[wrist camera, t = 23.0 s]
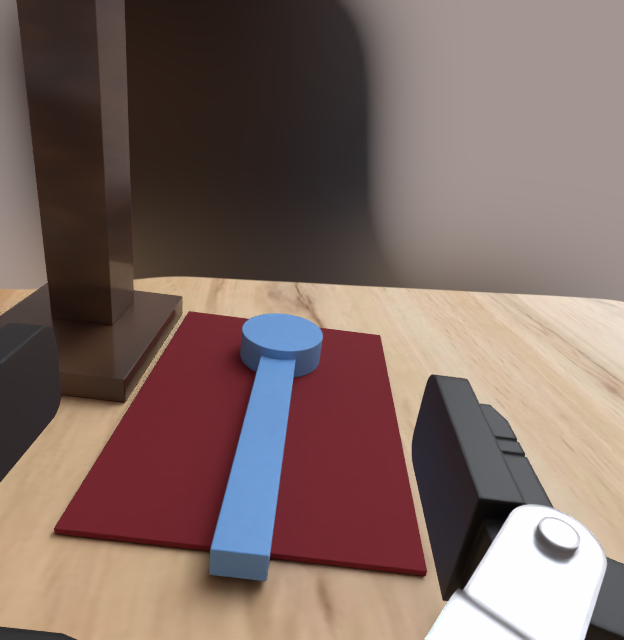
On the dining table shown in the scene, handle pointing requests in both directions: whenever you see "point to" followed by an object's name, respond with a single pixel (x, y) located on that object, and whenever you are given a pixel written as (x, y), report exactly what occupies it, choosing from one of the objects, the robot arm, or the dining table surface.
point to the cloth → (221, 443)
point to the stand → (86, 199)
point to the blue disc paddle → (261, 442)
